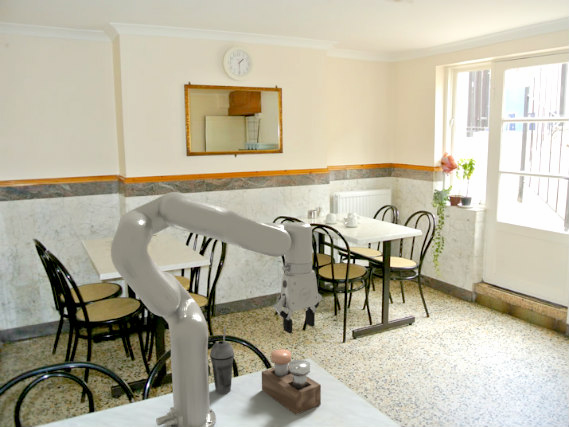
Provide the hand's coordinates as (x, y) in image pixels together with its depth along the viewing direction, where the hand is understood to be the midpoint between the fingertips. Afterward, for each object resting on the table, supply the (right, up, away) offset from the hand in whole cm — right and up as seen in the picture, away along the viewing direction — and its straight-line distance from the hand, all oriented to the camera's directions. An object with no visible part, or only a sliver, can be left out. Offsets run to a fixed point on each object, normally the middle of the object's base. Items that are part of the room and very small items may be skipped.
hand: (299, 328), depth 139 cm
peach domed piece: (-5, -17, +10) cm, 20 cm away
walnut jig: (-2, -22, +7) cm, 23 cm away
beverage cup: (-23, -22, +11) cm, 34 cm away
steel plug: (0, -18, +3) cm, 18 cm away
